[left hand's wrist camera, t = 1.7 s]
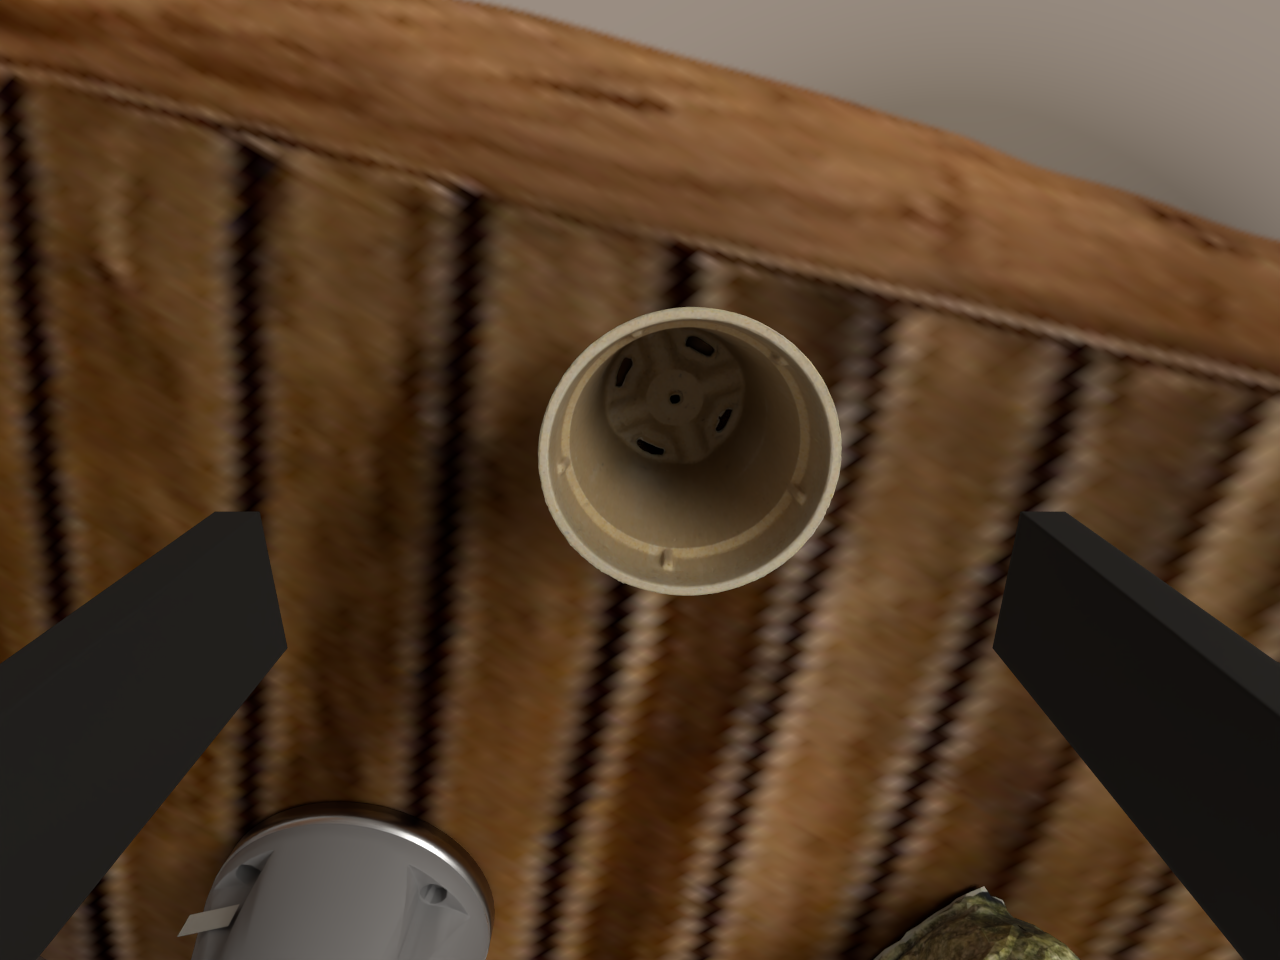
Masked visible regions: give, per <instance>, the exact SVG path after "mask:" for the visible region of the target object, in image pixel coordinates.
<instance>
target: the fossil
mask: <svg viewBox="0 0 1280 960" xmlns="http://www.w3.org/2000/svg"><path fill="white" fill-rule="evenodd" d="M874 960H1080V959H1079V958H1078V957H1077V956H1076V955H1075V954H1074V953H1073V952H1072V951H1071V950H1070V949H1069V948H1068V947H1067V946H1066V945H1065V944H1064V943H1062V942H1060V941H1059V940H1057V939H1056V938H1054V937H1053V936H1051V935H1050V934H1048V933H1046V932H1043V931H1042V930H1041V929H1039V928H1038V927H1036V926H1035V925H1033V924H1030V923H1027V922H1024V921H1022V920H1019V919H1016V918H1013V917H1012V916H1011V915H1010V914H1009V913H1008V911H1007V909H1006V906H1005V905H1004V902H1003V900H1001V899H999V898H996V897H992V896H990V894H989V893H988V891H987V890H986V888H985V887H984V886H983V887H981V888H979V889H976V890H974V891H972V892H969V893H967V894H965V895H963V896H961V897H959V898H957V899H955V900H954V901H953V902H952V903H951V904H950V905H948V906H946V907H945V908H943V909H941V910H939V911H938V912H936V913H935V914H933V915H932V916H930V917H929V918H927V919H926V920H925V921H923V922H922V923H921V924H919V925H918V926H916V927H915V928H913V929H911V930H910V931H908V932H907V933H906V934H905V935H904V937H903V938H902V939H901V940H900V941H898V942H897V943H895V944H893V945H891V946H890V947H888V948H886V949H885V950H884V951H882V952H881V953H880V954H879V955H878V956H877V957H876V958H875V959H874Z"/></svg>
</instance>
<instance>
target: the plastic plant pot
mask: <svg viewBox="0 0 1280 960" xmlns="http://www.w3.org/2000/svg"><path fill="white" fill-rule="evenodd" d="M690 336H696V337H698V338H700V339H701V340H703V341H704V342H705V343H706V344H708V345H710V346H711V347H712V348H713V349H714V352H713V353H712V355H711V356H706V355H704V354H702V353H700V352H698V351H697V350H695V349H693V348H690V347H687V346H686V341H687V339H688V337H690ZM624 358H628V359H631V360H632V364H633V365H632V367H631V368H630V369H629V371H628V373H627V374H626V377H625V379H624V382H623V384H622V386H616V382H617V374H618V371H619V368H620V366H621V363H622V361H623V359H624ZM671 395H679V396H680V401H679V402H678V403H672V402H671V401H670V397H671ZM726 409H731V410H732V412H731V415H730V417H729V419H728V421H727V423H726V425H725V427H724V428H723V429H722V430H720V431H716V427H717V425H718V423H719V421H720V419H719V416H720V417H721V416H722V415H723V414H724V412H725V411H726ZM638 439H641V440H643V441H645V442H647V443H649V444H652V445H654V446H656V447H658V448H662V449H664V453H663V454H662V455H657V454H655V455H654V454H650V453H648V452H646V451H643V450H642V449H641V448H640V447H639V446H638V445H637V440H638ZM841 449H842V448H841V432H840V427H839V421H838V415H837V412H836V408H835V405H834V403H833V400H832V398H831V396H830V393H829V391H828V388H827V386H826V384H825V383H824V381H823V379H822V377H821V376H820V374H819V373H818V371H817V370H816V369H815V367H814V366H813V364H812V363H811V362H810V360H809V359H808V358H807V357H806V356H805V355H804V354H803V353H802V352H801V351H800V350H799V349H798V348H797V347H796V346H795V345H794V344H792V343H791V342H790V341H789V340H787V339H786V338H785V337H784V336H782V335H781V334H779V333H778V332H776V331H774V330H773V329H771V328H769V327H768V326H766V325H764V324H762V323H760V322H758V321H756V320H754V319H751V318H749V317H747V316H744V315H740V314H737V313H733V312H729V311H725V310H719V309H713V308H700V307H683V308H672V309H666V310H661V311H657V312H652V313H649V314H645V315H642V316H639V317H637V318H634V319H632V320H630V321H628V322H625V323H623V324H621V325H619V326H617V327H616V328H614V329H612V330H611V331H609V332H608V333H606V334H605V335H603V336H602V337H600V338H599V339H598V340H596V341H595V342H594V343H592V344H591V345H590V346H589V347H588V348H587V349H586V350H584V351H583V352H582V353H581V354H580V355H579V356H578V357H577V359H576V360H575V361H574V362H573V363H572V365H571V366H570V367H569V368H568V370H567V371H566V372H565V374H564V375H563V377H562V378H561V380H560V382H559V384H558V385H557V387H556V389H555V390H554V392H553V395H552V397H551V399H550V401H549V404H548V406H547V409H546V412H545V414H544V418H543V422H542V425H541V430H540V435H539V445H538V467H539V475H540V481H541V487H542V490H543V494H544V497H545V502H546V504H547V506H548V508H549V511H550V513H551V515H552V517H553V519H554V520H555V523H556V525H557V526H558V528H559V530H560V531H561V532H562V534H563V535H564V536H565V538H566V539H567V541H568V542H569V544H570V545H571V546H572V547H573V548H574V549H575V550H576V551H577V552H578V553H579V554H580V555H581V556H582V557H583V558H585V559H586V560H587V561H588V562H589V563H590V564H592V565H593V566H594V567H596V568H597V569H599V570H600V571H601V572H603V573H605V574H607V575H609V576H611V577H613V578H615V579H617V580H618V581H621V582H622V583H626V584H628V585H631V586H634V587H637V588H640V589H643V590H648V591H652V592H656V593H662V594H668V595H691V596H693V595H703V594H713V593H719V592H722V591H726V590H730V589H734V588H736V587H740V586H742V585H745V584H747V583H750V582H752V581H755V580H757V579H759V578H761V577H764V576H765V575H766V574H768V573H770V572H771V571H773V570H775V569H776V568H778V567H779V566H781V565H782V564H784V563H785V562H786V561H787V560H788V559H789V558H791V557H792V556H793V555H794V554H795V553H797V551H798V550H799V549H800V548H801V547H802V546H803V545H804V544H805V542H806V541H807V540H808V539H809V538H810V537H811V536H812V535H813V533H814V532H815V530H816V528H817V527H818V525H819V524H820V522H821V521H822V520H823V517H824V515H825V514H826V510H827V508H828V507H829V505H830V501H831V499H832V497H833V495H834V491H835V488H836V484H837V481H838V477H839V472H840V465H841Z"/></svg>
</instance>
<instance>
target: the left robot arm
mask: <svg viewBox="0 0 1280 960" xmlns="http://www.w3.org/2000/svg"><path fill="white" fill-rule="evenodd" d="M286 649H287V643H286V639H285V634H284V629H283V624H282V619H281V614H280V609H279V605H278V600H277V595H276V590H275V585H274V580H273V575H272V570H271V566H270V561H269V556H268V551H267V546H266V541H265V536H264V532H263V527H262V522H261V517H260V512H214V513H213V514H211V515H210V516H208V517H207V518H206V519H204V520H203V521H201V522H200V523H198V524H197V525H196V526H194V527H193V528H191V529H190V530H189V531H187V532H186V533H184V534H183V535H182V536H180V537H179V538H177V539H176V540H174V541H173V542H172V543H170V544H169V545H167V546H166V547H165V548H163V549H162V550H160V551H159V552H158V553H156V554H155V555H153V556H152V557H151V558H149V559H148V560H146V561H145V562H143V563H142V564H141V565H139V566H138V567H136V568H135V569H134V570H132V571H131V572H129V573H128V574H127V575H125V576H124V577H122V578H121V579H119V580H118V581H117V582H115V583H114V584H112V585H111V586H110V587H108V588H107V589H105V590H104V591H103V592H101V593H100V594H98V595H97V596H96V597H94V598H93V599H91V600H90V601H88V602H87V603H86V604H84V605H83V606H81V607H80V608H79V609H77V610H76V611H74V612H73V613H72V614H70V615H69V616H67V617H66V618H64V619H63V620H62V621H60V622H59V623H57V624H56V625H55V626H53V627H52V628H50V629H49V630H48V631H46V632H45V633H43V634H42V635H41V636H39V637H38V638H36V639H35V640H33V641H32V642H31V643H29V644H28V645H26V646H25V647H24V648H22V649H21V650H19V651H18V652H17V653H15V654H14V655H12V656H11V657H9V658H8V659H7V660H5V661H4V662H2V663H1V664H0V960H46V959H44V958H43V957H41V956H40V954H41V953H42V952H43V951H44V949H45V948H46V947H47V946H48V944H49V943H50V942H51V941H52V940H53V938H54V937H55V936H56V935H57V933H58V932H59V931H60V930H61V928H62V927H63V926H64V925H65V923H66V922H67V921H68V920H69V918H70V917H71V916H72V915H73V913H74V912H75V911H76V910H77V909H78V907H79V906H80V905H81V904H82V902H83V901H84V900H85V899H86V897H87V896H88V895H89V894H90V892H91V891H92V890H93V889H94V887H95V886H96V885H97V884H98V882H99V881H100V880H101V879H102V877H103V876H104V875H105V874H106V873H107V871H108V870H109V869H110V868H111V866H112V865H113V864H114V863H115V861H116V860H117V859H118V858H119V856H120V855H121V854H122V853H123V851H124V850H125V849H126V848H127V846H128V845H129V844H130V843H131V841H132V840H133V839H134V838H135V837H136V835H137V834H138V833H139V832H140V830H141V829H142V828H143V827H144V825H145V824H146V823H147V822H148V820H149V819H150V818H151V817H152V815H153V814H154V813H155V812H156V810H157V809H158V808H159V807H160V805H161V804H162V803H163V802H164V801H165V799H166V798H167V797H168V796H169V794H170V793H171V792H172V791H173V789H174V788H175V787H176V786H177V784H178V783H179V782H180V781H181V779H182V778H183V777H184V776H185V774H186V773H187V772H188V771H189V769H190V768H191V767H192V766H193V765H194V763H195V762H196V761H197V760H198V758H199V757H200V756H201V755H202V753H203V752H204V751H205V750H206V748H207V747H208V746H209V745H210V743H211V742H212V741H213V740H214V738H215V737H216V736H217V735H218V734H219V732H220V731H221V730H222V729H223V727H224V726H225V725H226V724H227V722H228V721H229V720H230V719H231V717H232V716H233V715H234V714H235V712H236V711H237V710H238V709H239V707H240V706H241V705H242V704H243V702H244V701H245V700H246V699H247V698H248V696H249V695H250V694H251V693H252V691H253V690H254V689H255V688H256V686H257V685H258V684H259V683H260V681H261V680H262V679H263V678H264V676H265V675H266V674H267V673H268V671H269V670H270V669H271V668H272V666H273V665H274V664H275V663H276V662H277V660H278V659H279V658H280V657H281V655H282V654H283V653H284V652H285V650H286ZM993 649H994V650H995V652H996V653H997V654H998V655H999V657H1000V658H1001V659H1002V660H1003V662H1004V663H1005V664H1006V665H1007V666H1008V668H1009V669H1010V670H1011V671H1012V673H1013V674H1014V675H1015V676H1016V678H1017V679H1018V680H1019V681H1020V683H1021V684H1022V685H1023V686H1024V688H1025V689H1026V690H1027V691H1028V693H1029V694H1030V695H1031V696H1032V698H1033V699H1034V700H1035V701H1036V702H1037V704H1038V705H1039V706H1040V707H1041V709H1042V710H1043V711H1044V712H1045V714H1046V715H1047V716H1048V717H1049V719H1050V720H1051V721H1052V722H1053V724H1054V725H1055V726H1056V727H1057V729H1058V730H1059V731H1060V732H1061V734H1062V735H1063V736H1064V737H1065V738H1066V740H1067V741H1068V742H1069V743H1070V745H1071V746H1072V747H1073V748H1074V750H1075V751H1076V752H1077V753H1078V755H1079V756H1080V757H1081V758H1082V760H1083V761H1084V762H1085V763H1086V765H1087V766H1088V767H1089V768H1090V769H1091V771H1092V772H1093V773H1094V774H1095V776H1096V777H1097V778H1098V779H1099V781H1100V782H1101V783H1102V784H1103V786H1104V787H1105V788H1106V789H1107V791H1108V792H1109V793H1110V794H1111V796H1112V797H1113V798H1114V799H1115V801H1116V802H1117V803H1118V804H1119V805H1120V807H1121V808H1122V809H1123V810H1124V812H1125V813H1126V814H1127V815H1128V817H1129V818H1130V819H1131V820H1132V822H1133V823H1134V824H1135V825H1136V827H1137V828H1138V829H1139V830H1140V832H1141V833H1142V834H1143V835H1144V837H1145V838H1146V839H1147V840H1148V841H1149V843H1150V844H1151V845H1152V846H1153V848H1154V849H1155V850H1156V851H1157V853H1158V854H1159V855H1160V856H1161V858H1162V859H1163V860H1164V861H1165V863H1166V864H1167V865H1168V866H1169V868H1170V869H1171V870H1172V871H1173V873H1174V874H1175V875H1176V876H1177V877H1178V879H1179V880H1180V881H1181V882H1182V884H1183V885H1184V886H1185V887H1186V889H1187V890H1188V891H1189V892H1190V894H1191V895H1192V896H1193V897H1194V899H1195V900H1196V901H1197V902H1198V904H1199V905H1200V906H1201V907H1202V909H1203V910H1204V911H1205V912H1206V913H1207V915H1208V916H1209V917H1210V918H1211V920H1212V921H1213V922H1214V923H1215V925H1216V926H1217V927H1218V928H1219V930H1220V931H1221V932H1222V933H1223V935H1224V936H1225V937H1226V938H1227V940H1228V941H1229V942H1230V943H1231V944H1232V946H1233V947H1234V948H1235V949H1236V951H1237V952H1238V953H1239V954H1240V956H1241V957H1242V958H1243V959H1244V960H1280V663H1279V662H1276V661H1275V660H1273V659H1272V658H1271V657H1269V656H1268V655H1266V654H1265V653H1263V652H1262V651H1261V650H1259V649H1258V648H1256V647H1255V646H1254V645H1252V644H1251V643H1249V642H1248V641H1247V640H1245V639H1244V638H1242V637H1241V636H1239V635H1238V634H1237V633H1235V632H1234V631H1232V630H1231V629H1230V628H1228V627H1227V626H1225V625H1224V624H1223V623H1221V622H1220V621H1218V620H1217V619H1216V618H1214V617H1213V616H1211V615H1210V614H1208V613H1207V612H1206V611H1204V610H1203V609H1201V608H1200V607H1199V606H1197V605H1196V604H1194V603H1193V602H1192V601H1190V600H1189V599H1187V598H1186V597H1184V596H1183V595H1182V594H1180V593H1179V592H1177V591H1176V590H1175V589H1173V588H1172V587H1170V586H1169V585H1168V584H1166V583H1165V582H1163V581H1162V580H1161V579H1159V578H1158V577H1156V576H1155V575H1153V574H1152V573H1151V572H1149V571H1148V570H1146V569H1145V568H1144V567H1142V566H1141V565H1139V564H1138V563H1137V562H1135V561H1134V560H1132V559H1131V558H1129V557H1128V556H1127V555H1125V554H1124V553H1122V552H1121V551H1120V550H1118V549H1117V548H1115V547H1114V546H1113V545H1111V544H1110V543H1108V542H1107V541H1106V540H1104V539H1103V538H1101V537H1100V536H1098V535H1097V534H1096V533H1094V532H1093V531H1091V530H1090V529H1089V528H1087V527H1086V526H1084V525H1083V524H1082V523H1080V522H1079V521H1077V520H1076V519H1074V518H1073V517H1072V516H1070V515H1069V514H1067V513H1066V512H1020V517H1019V522H1018V527H1017V532H1016V536H1015V541H1014V546H1013V551H1012V556H1011V561H1010V566H1009V570H1008V575H1007V580H1006V585H1005V590H1004V595H1003V600H1002V605H1001V609H1000V614H999V619H998V624H997V629H996V634H995V639H994V643H993ZM493 923H494V902H493V897H492V893H491V889H490V887H489V884H488V882H487V880H486V878H485V876H484V874H483V872H482V871H481V869H480V868H479V866H478V865H477V863H476V862H475V861H474V859H473V858H472V857H471V856H470V855H469V853H468V852H466V851H465V850H464V849H463V848H462V847H461V846H460V845H459V844H458V843H457V842H456V841H454V840H453V839H452V838H451V837H449V836H448V835H446V834H445V833H443V832H442V831H441V830H439V829H437V828H436V827H434V826H432V825H430V824H429V823H427V822H425V821H422V820H420V819H418V818H416V817H414V816H411V815H408V814H406V813H403V812H400V811H397V810H393V809H390V808H386V807H382V806H377V805H372V804H365V803H356V802H323V803H314V804H308V805H303V806H299V807H295V808H291V809H288V810H286V811H283V812H280V813H278V814H276V815H273V816H271V817H269V818H267V819H266V820H264V821H262V822H261V823H259V824H257V825H256V826H255V827H254V828H252V829H251V830H250V831H249V832H247V833H246V834H245V835H244V836H243V837H242V838H241V840H240V841H239V842H238V843H237V845H236V846H235V847H234V849H233V850H232V852H231V854H230V855H229V857H228V858H227V860H226V861H225V863H224V865H223V866H222V868H221V869H220V871H219V873H218V874H217V876H216V878H215V881H214V883H213V885H212V888H211V890H210V893H209V895H208V897H207V900H206V904H205V907H204V911H203V912H202V913H197V914H192V915H190V916H189V918H188V919H187V921H186V923H185V924H184V926H183V928H182V930H181V931H180V933H179V935H178V936H177V937H180V936H184V935H189V934H194V933H198V935H197V939H196V943H195V947H194V951H193V955H192V959H191V960H485V959H486V956H487V953H488V949H489V944H490V939H491V934H492V929H493Z"/></svg>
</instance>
